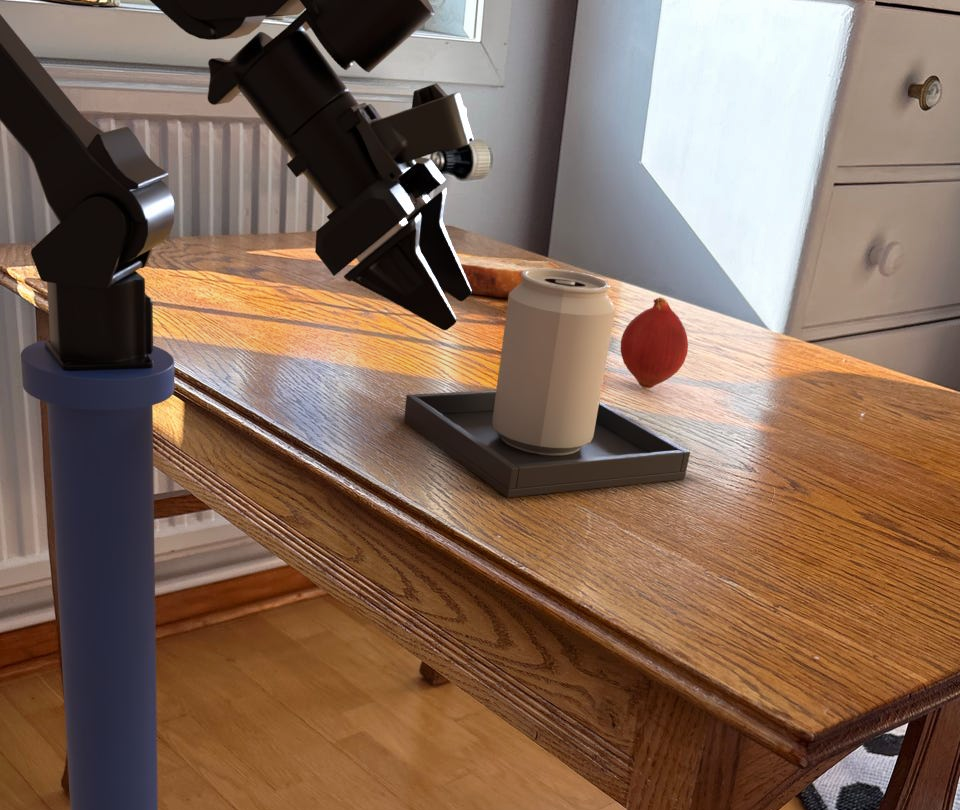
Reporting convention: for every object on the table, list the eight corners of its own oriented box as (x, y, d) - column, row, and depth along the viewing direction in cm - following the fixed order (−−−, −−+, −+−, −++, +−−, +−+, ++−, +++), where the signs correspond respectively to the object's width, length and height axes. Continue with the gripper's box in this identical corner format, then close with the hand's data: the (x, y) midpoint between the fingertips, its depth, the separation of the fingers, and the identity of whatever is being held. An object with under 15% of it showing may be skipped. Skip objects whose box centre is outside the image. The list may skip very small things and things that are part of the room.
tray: (507, 498, 77) (511, 468, 76) (403, 421, 88) (406, 394, 87) (684, 479, 85) (690, 451, 84) (568, 410, 96) (572, 385, 95)
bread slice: (375, 274, 131) (378, 240, 130) (488, 266, 143) (492, 234, 141) (487, 315, 121) (492, 279, 119) (599, 303, 133) (604, 269, 131)
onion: (641, 374, 108) (658, 287, 104) (691, 393, 105) (710, 303, 101) (601, 382, 104) (617, 291, 101) (651, 401, 101) (670, 308, 97)
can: (591, 432, 89) (619, 272, 84) (590, 466, 83) (620, 294, 77) (494, 418, 90) (515, 258, 84) (486, 450, 83) (508, 278, 77)
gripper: (383, 40, 67) (543, 266, 72) (429, 35, 83) (557, 219, 88) (244, 165, 71) (405, 371, 76) (314, 137, 87) (443, 308, 92)
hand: (459, 311), depth 83 cm, fingers open, 9 cm apart
